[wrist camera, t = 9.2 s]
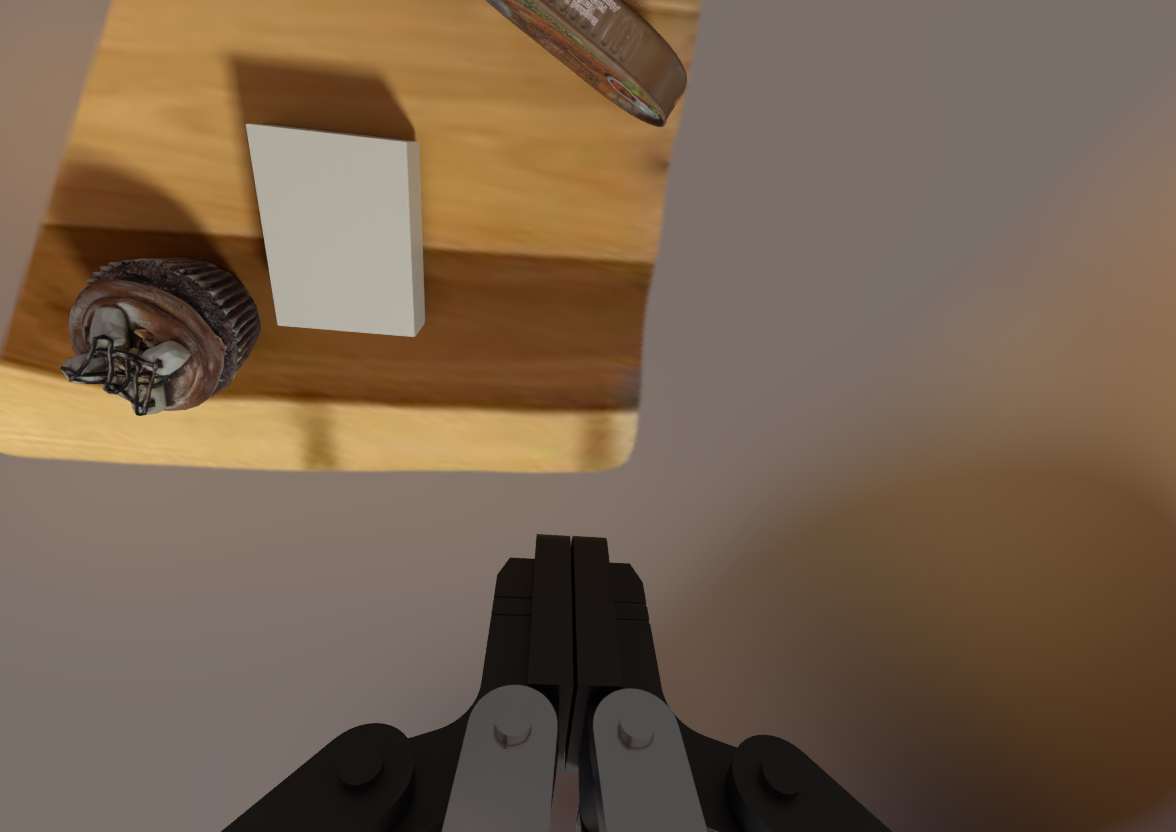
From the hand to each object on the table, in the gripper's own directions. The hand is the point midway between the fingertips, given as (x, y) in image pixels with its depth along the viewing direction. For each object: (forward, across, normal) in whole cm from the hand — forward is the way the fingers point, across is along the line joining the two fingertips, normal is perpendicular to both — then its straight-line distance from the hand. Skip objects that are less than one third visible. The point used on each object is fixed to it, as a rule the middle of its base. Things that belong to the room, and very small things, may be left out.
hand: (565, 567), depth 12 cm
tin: (+31, +1, -14) cm, 34 cm away
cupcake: (+31, +26, +6) cm, 41 cm away
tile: (+29, +10, -1) cm, 31 cm away
